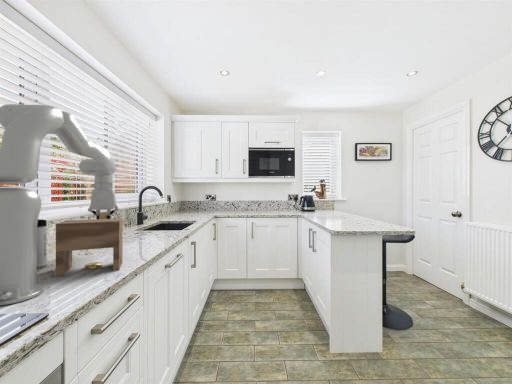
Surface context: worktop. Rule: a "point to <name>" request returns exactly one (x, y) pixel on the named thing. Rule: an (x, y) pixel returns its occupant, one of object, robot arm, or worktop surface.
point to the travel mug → (41, 244)
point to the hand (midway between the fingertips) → (103, 223)
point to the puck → (93, 265)
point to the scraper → (103, 215)
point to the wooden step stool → (87, 240)
